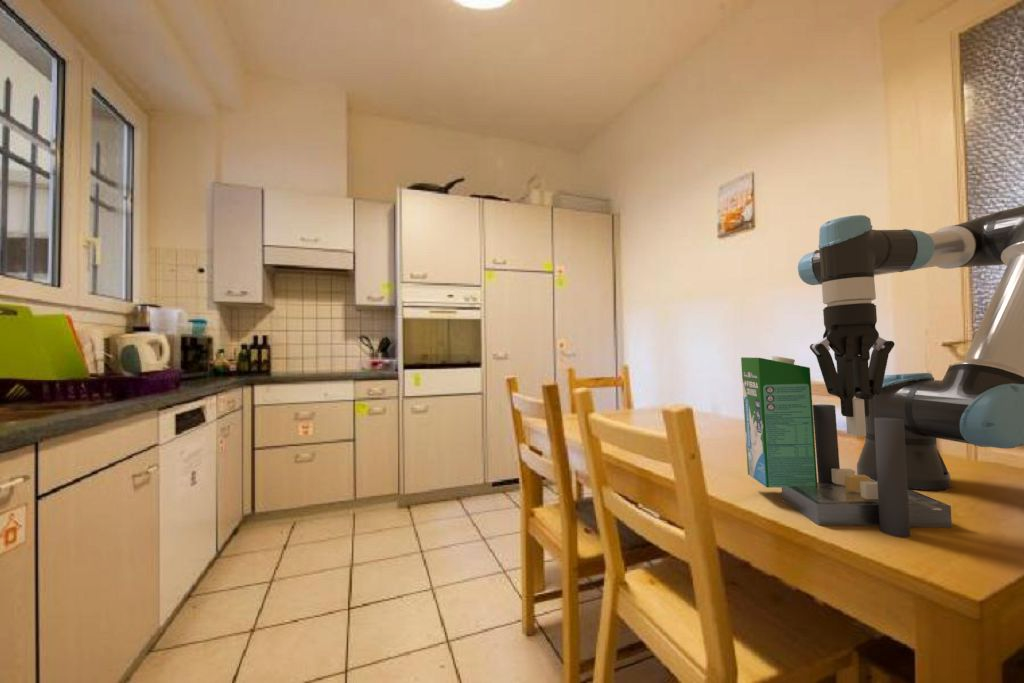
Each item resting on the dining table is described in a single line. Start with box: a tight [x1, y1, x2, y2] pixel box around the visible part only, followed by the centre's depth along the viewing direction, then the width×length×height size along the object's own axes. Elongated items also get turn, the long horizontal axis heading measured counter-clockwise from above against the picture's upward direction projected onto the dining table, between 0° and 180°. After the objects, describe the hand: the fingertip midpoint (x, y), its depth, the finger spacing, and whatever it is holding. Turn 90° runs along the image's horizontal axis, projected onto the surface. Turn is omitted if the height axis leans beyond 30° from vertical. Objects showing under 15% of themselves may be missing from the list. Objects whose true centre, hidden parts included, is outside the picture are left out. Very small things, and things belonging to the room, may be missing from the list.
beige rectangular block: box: [860, 482, 878, 499], centre depth 72 cm, size 3×1×2 cm, turn 83°
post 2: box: [874, 417, 911, 538], centre depth 68 cm, size 4×4×18 cm
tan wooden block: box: [845, 474, 870, 491], centre depth 76 cm, size 3×1×2 cm, turn 83°
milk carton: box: [740, 355, 818, 489], centre depth 85 cm, size 9×9×25 cm
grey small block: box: [831, 468, 856, 484], centre depth 80 cm, size 3×1×2 cm, turn 83°
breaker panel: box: [781, 479, 953, 529], centre depth 76 cm, size 20×16×4 cm
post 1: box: [812, 403, 841, 482], centre depth 85 cm, size 4×4×18 cm
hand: (856, 434), depth 76 cm, fingers closed
